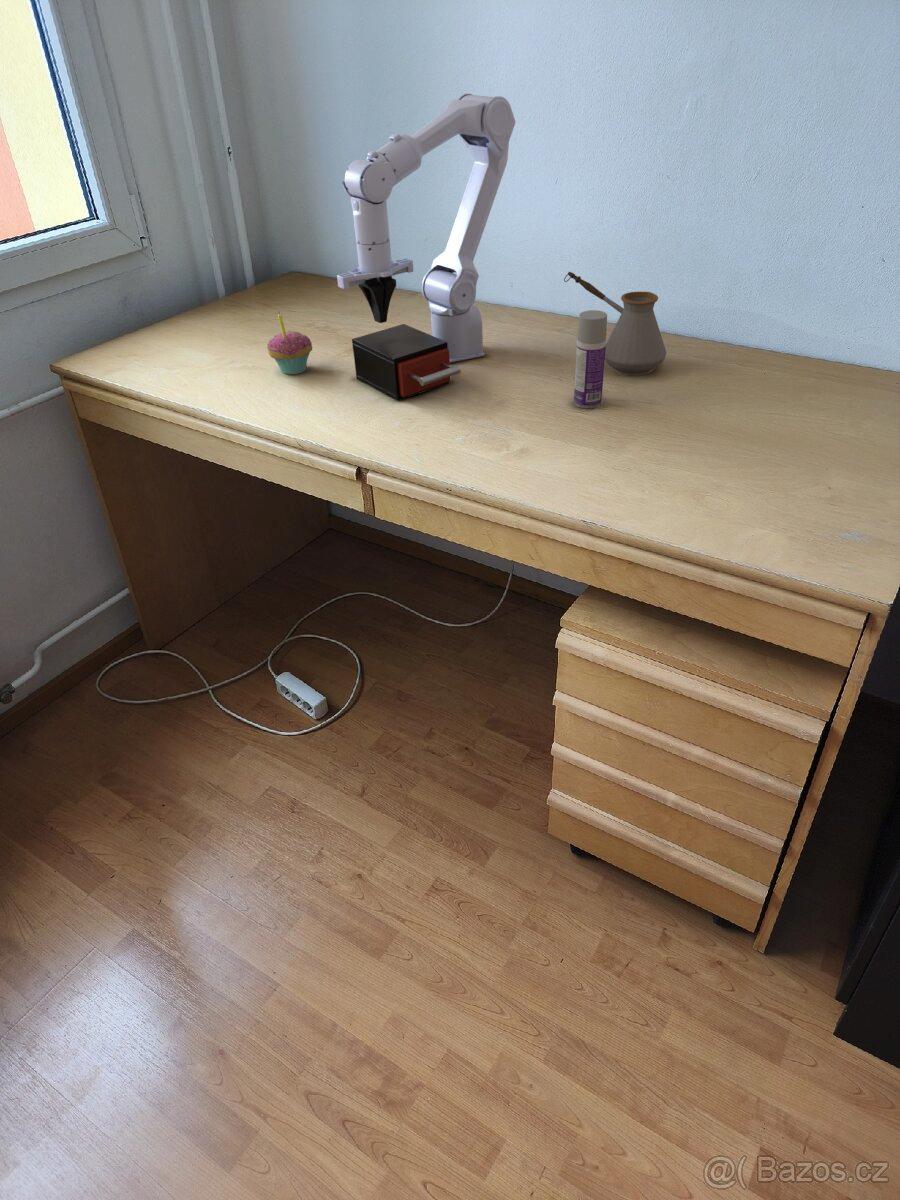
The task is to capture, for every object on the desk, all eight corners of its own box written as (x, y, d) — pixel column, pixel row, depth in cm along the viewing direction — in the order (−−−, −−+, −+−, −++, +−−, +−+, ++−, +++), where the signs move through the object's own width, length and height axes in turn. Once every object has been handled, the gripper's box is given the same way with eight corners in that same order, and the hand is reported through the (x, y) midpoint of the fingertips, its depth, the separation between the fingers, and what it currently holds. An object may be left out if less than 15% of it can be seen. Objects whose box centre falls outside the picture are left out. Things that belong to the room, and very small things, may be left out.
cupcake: (306, 379, 151) (296, 315, 143) (264, 377, 152) (252, 314, 145) (321, 362, 157) (312, 300, 150) (280, 360, 159) (269, 299, 151)
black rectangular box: (449, 382, 146) (447, 342, 142) (397, 400, 141) (393, 359, 136) (406, 362, 155) (403, 323, 150) (356, 379, 150) (351, 339, 145)
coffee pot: (675, 364, 148) (686, 281, 139) (644, 384, 142) (653, 298, 132) (579, 341, 160) (583, 263, 151) (545, 359, 153) (548, 278, 144)
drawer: (466, 388, 142) (465, 356, 138) (419, 405, 137) (417, 372, 133) (410, 362, 153) (408, 332, 149) (365, 377, 148) (361, 346, 144)
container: (603, 398, 138) (610, 310, 129) (598, 409, 134) (605, 320, 125) (576, 396, 139) (581, 309, 130) (571, 407, 136) (575, 318, 126)
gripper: (349, 253, 129) (358, 336, 138) (421, 236, 136) (426, 316, 144) (326, 245, 134) (337, 326, 142) (397, 229, 141) (403, 307, 149)
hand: (380, 321), depth 144 cm, fingers closed
